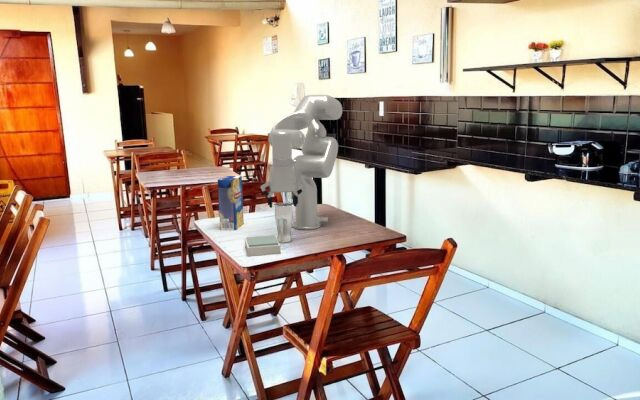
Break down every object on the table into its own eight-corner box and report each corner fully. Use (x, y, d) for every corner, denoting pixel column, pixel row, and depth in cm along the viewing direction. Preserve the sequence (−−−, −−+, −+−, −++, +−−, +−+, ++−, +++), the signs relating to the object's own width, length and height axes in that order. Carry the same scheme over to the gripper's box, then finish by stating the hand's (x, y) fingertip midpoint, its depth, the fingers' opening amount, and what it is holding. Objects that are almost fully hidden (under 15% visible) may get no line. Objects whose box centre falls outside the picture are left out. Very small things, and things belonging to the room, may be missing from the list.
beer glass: (286, 244, 206) (285, 207, 203) (272, 242, 209) (271, 205, 206) (296, 240, 211) (295, 203, 208) (282, 237, 215) (281, 201, 212)
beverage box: (243, 224, 238) (241, 176, 233) (235, 230, 227) (232, 180, 223) (229, 223, 239) (227, 175, 234) (220, 229, 228) (217, 179, 224)
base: (275, 244, 206) (275, 234, 205) (280, 253, 194) (280, 243, 193) (245, 246, 203) (244, 236, 202) (247, 256, 192) (247, 245, 191)
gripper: (302, 161, 209) (302, 203, 212) (258, 162, 205) (259, 205, 209) (306, 163, 202) (306, 207, 205) (261, 164, 198) (262, 209, 201)
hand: (282, 206), depth 207 cm, fingers open, 9 cm apart
